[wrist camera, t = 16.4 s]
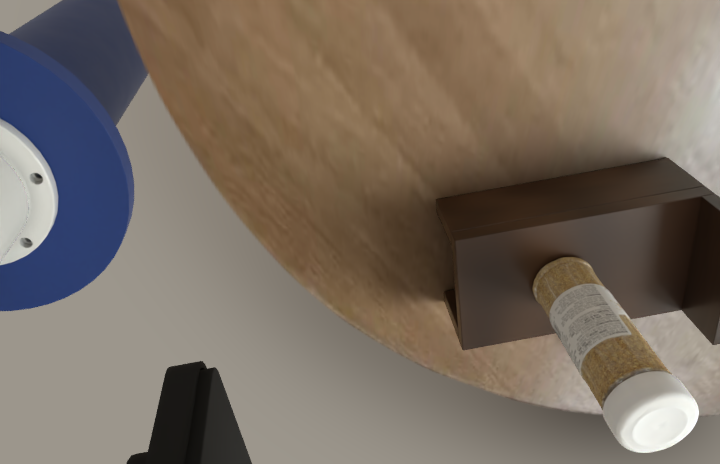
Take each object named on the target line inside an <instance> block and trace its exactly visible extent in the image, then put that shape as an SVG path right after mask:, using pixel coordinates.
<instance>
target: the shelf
mask: <svg viewBox="0 0 720 464" xmlns="http://www.w3.org/2000/svg"><path fill="white" fill-rule="evenodd" d="M436 208H437V214H438V216H439V218H440V220H441V223H442V225H443V227H444V229H445V232H446V234H447V236H448V238H449V241H450V243H451V245H452V254H453V267H454V280H455V290H450V291H445V292H444V299H445V304H446V307H447V309H448V312H449V315H450V317H451V320H452V323H453V326H454V328H455V331H456V334H457V336H458V339H459V342H460V344H461V347H462V350H468V349H473V348H479V347H484V346H489V345H495V344H500V343H506V342H511V341H516V340H522V339H527V338H533V337H538V336H543V335H549V334H554V333H556V332H555V330H554V328H553V327H552V325H551V322H550V319H549V317H548V316H547V314H546V312H545V310H544V309H543V307H542V306H541V304H539V303H538V302H537V301H536V299H535V297H534V294H533V289H532V288H533V283H534V279H535V278H536V275H537V274H538V272H539V271H540V270H541V269H542V268H543V267H544V266H545V265H547V264H548V263H550V262H552V261H555V260H557V259H559V258H562V257H576V258H580V259H583V260H584V261H586V262H588V263H589V264H590V266H591V267H592V269H593V271H594V273H595V275H596V276H597V277H598V279H599V280H600V281H601V283H602V284H603V285H604V287H605V288H606V289H607V290H608V291H609V292H610V293H611V294H612V295H613V297H614V298H615V299H616V301H617V302H618V303H619V304H620V306H621V307H622V308H623V310H624V311H625V312H626V314H627V315H628V316H629V318H630V319H635V318H640V317H646V316H651V315H657V314H662V313H667V312H673V311H678V310H682V311H683V312H684V313H685V314H686V316H687V317H688V318H689V319H690V320H691V321H692V322H693V323H694V324H695V326H696V327H697V328H698V329H699V330H700V331H701V332H702V333H703V335H704V336H705V337H706V338H707V339H708V340H709V341H710V342H711V343H712V345H717V344H720V197H719V196H717V195H716V194H715V193H713V192H712V191H711V190H709V189H708V188H707V187H705V186H704V185H703V184H702V183H700V182H699V181H698V180H696V179H695V178H694V177H692V176H691V175H690V174H688V173H687V172H686V171H685V170H683V169H682V168H681V167H679V166H678V165H677V164H675V163H674V162H673V161H671V160H670V159H669V158H663V159H658V160H652V161H647V162H641V163H636V164H630V165H625V166H619V167H614V168H608V169H602V170H597V171H591V172H586V173H580V174H575V175H569V176H564V177H558V178H552V179H547V180H541V181H536V182H530V183H525V184H519V185H514V186H508V187H503V188H497V189H491V190H486V191H480V192H475V193H469V194H464V195H458V196H453V197H447V198H442V199H436Z"/></svg>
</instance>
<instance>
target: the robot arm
mask: <svg viewBox="0 0 720 464" xmlns="http://www.w3.org/2000/svg"><path fill="white" fill-rule="evenodd" d="M37 173H38V174H40V175H41V176H40V175H38V174H37ZM57 212H58V192H57V186H56V181H55V179H54V176H53V174H52V171H51V169H50V167H49V165H48V163H47V162H46V160H45V159H44V157H43V156H42V154H41V152H40V151H39V150H38V149H37V148H36V147H35V146H34V145H33V143H32V142H31V141H30V140H29V139H28V138H27V137H26V136H24V135H23V134H22V133H21V132H20V131H18V130H17V129H16V128H15V127H13V126H12V125H11V124H9V123H7V122H6V121H4V120H2V119H1V118H0V265H4V264H7V263H11V262H14V261H16V260H19V259H21V258H23V257H25V256H27V255H28V254H30V253H31V252H32V251H33V250H35V249H36V248H37V247H38V246H39V245H40V244H41V243H42V242H43V240H44V239H45V238H46V237H47V235H48V233H49V232H50V230H51V228H52V226H53V225H54V222H55V218H56V215H57ZM127 464H252V463H251V460H250V457H249V454H248V451H247V449H246V446H245V443H244V440H243V438H242V435H241V433H240V430H239V427H238V424H237V421H236V419H235V416H234V413H233V410H232V408H231V405H230V402H229V400H228V397H227V394H226V391H225V388H224V386H223V383H222V380H221V377H220V375H219V372H218V370H217V369H216V368H209V369H207V368H206V366H205V364H204V363H203V361H200V362H194V363H188V364H183V365H178V366H172V367H169V368H168V369H167V371H166V374H165V378H164V382H163V387H162V391H161V396H160V400H159V405H158V409H157V414H156V418H155V423H154V427H153V432H152V437H151V441H150V445H149V449H148V452H144V453H139V454H135V455H132V456H131V457H130V458H129V460H128V461H127Z"/></svg>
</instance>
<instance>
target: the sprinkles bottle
mask: <svg viewBox="0 0 720 464" xmlns="http://www.w3.org/2000/svg"><path fill="white" fill-rule="evenodd" d="M532 289H533V294H534V297H535V299H536V301H537V302H538V303H539V304H541V306H542V307H543V309H544V310H545V312H546V314H547V316H548V317H549V319H550V322H551V325H552V327H553V328H554V330H555V332H556V334H557V335H558V337H559V339H560V340H561V342H562V344H563V345H564V347H565V349H566V350H567V352H568V354H569V356H570V357H571V359H572V361H573V362H574V364H575V366H576V368H577V369H578V371H579V373H580V374H581V376H582V378H583V379H584V380H585V381H586V383H587V384H588V386H589V387H590V390H591V391H592V393H593V394H594V396H595V398H596V399H597V401H598V403H599V404H600V406H601V408H602V410H603V416H604V419H605V421H606V423H607V425H608V426H609V428H610V430H611V431H612V433H613V434H614V436H615V437H616V439H617V440H618V442H619V443H620V444H621V445H622V446H623V447H625V448H627V449H628V450H631V451H634V452H641V453H647V452H655V451H659V450H663V449H665V448H668V447H670V446H672V445H674V444H676V443H678V442H679V441H680V440H682V439H683V438H684V437H686V436H687V435H688V434H689V432H691V430H692V429H693V427H694V426H695V424H696V422H697V420H698V416H699V410H698V405H697V403H696V401H695V400H694V398H693V397H692V395H691V394H690V393H689V391H688V390H687V389H686V387H685V386H684V385H683V384H682V382H681V381H680V380H679V379H678V378H677V377H676V376H674V375H672V374H671V373H670V372H669V371H668V369H667V368H666V367H665V366H664V364H663V363H662V362H661V360H660V359H659V358H658V357H657V355H656V354H655V352H654V351H653V350H652V348H651V347H650V346H649V344H648V343H647V342H646V341H645V339H644V338H643V337H642V335H641V334H640V332H639V330H638V329H637V328H636V327H635V326H634V324H633V323H632V321H631V319H630V318H629V316H628V315H627V314H626V312H625V311H624V310H623V308H622V307H621V306H620V304H619V303H618V302H617V301H616V299H615V298H614V297H613V295H612V294H611V293H610V292H609V291H608V290H607V289H606V288H605V287H604V285H603V284H602V283H601V281H600V280H599V279H598V277H597V276H596V275H595V273H594V271H593V269H592V267H591V266H590V264H589V263H588V262H586V261H584V260H583V259H580V258H576V257H562V258H559V259H557V260H555V261H552V262H550V263H548V264H547V265H545V266H544V267H543V268H542V269H541V270H540V271H539V272H538V274H537V275H536V278H535V279H534V283H533V288H532Z"/></svg>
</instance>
